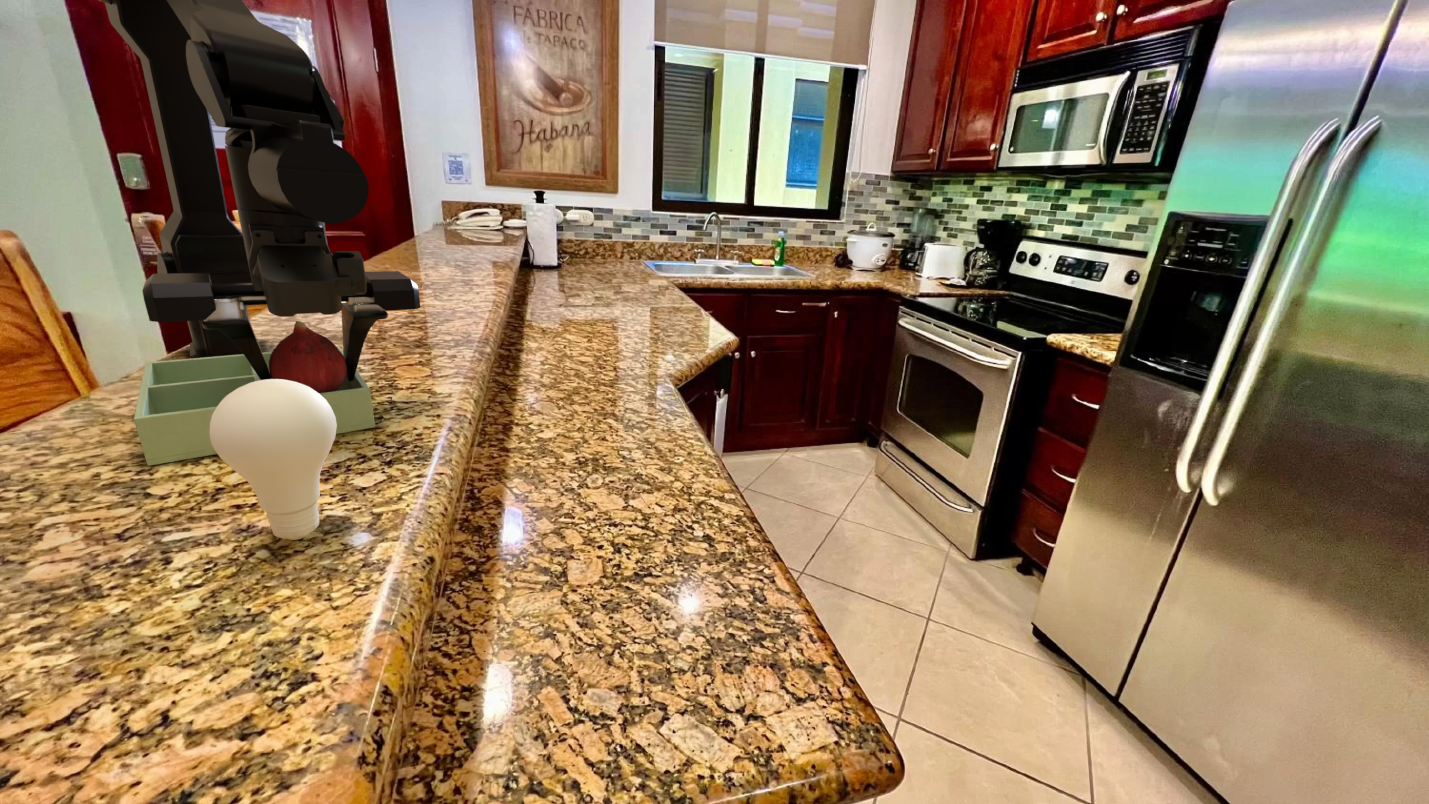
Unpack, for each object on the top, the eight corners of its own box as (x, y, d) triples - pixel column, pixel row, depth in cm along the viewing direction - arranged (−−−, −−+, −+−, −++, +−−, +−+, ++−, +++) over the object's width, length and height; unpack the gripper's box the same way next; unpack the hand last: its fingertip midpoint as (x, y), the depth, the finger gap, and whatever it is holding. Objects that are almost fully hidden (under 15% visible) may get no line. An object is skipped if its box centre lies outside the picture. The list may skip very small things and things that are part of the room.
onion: (365, 397, 55) (354, 319, 52) (320, 419, 49) (306, 333, 47) (310, 390, 55) (296, 312, 52) (260, 411, 50) (242, 325, 47)
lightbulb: (223, 573, 33) (178, 403, 29) (255, 518, 38) (220, 367, 34) (344, 556, 35) (317, 396, 31) (359, 506, 40) (337, 364, 37)
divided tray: (156, 401, 53) (145, 362, 52) (344, 379, 63) (339, 345, 62) (147, 466, 43) (133, 419, 41) (375, 427, 53) (370, 388, 51)
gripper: (110, 213, 35) (172, 436, 40) (430, 225, 47) (444, 396, 52) (124, 199, 42) (175, 389, 48) (396, 212, 54) (411, 363, 60)
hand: (311, 384), depth 52 cm, fingers closed on onion, 6 cm apart
